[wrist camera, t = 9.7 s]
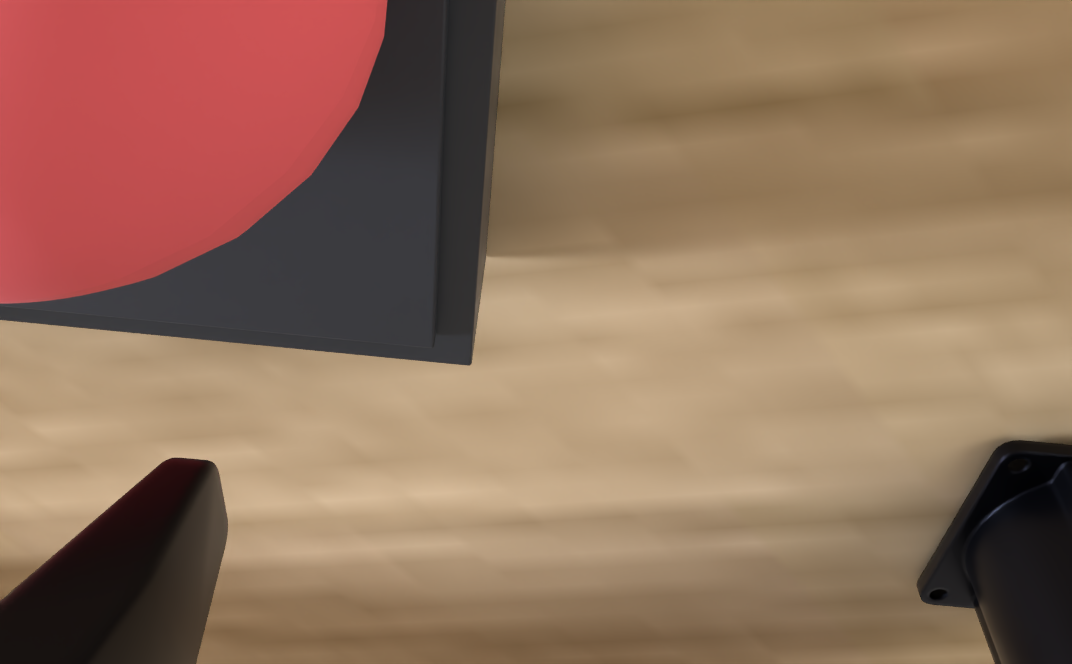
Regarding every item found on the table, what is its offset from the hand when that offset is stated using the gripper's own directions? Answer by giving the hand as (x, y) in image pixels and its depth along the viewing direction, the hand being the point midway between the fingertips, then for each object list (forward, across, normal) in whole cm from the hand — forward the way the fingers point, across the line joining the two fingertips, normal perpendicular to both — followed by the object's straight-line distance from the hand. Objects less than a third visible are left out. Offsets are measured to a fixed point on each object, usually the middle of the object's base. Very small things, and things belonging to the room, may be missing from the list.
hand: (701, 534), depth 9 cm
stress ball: (+8, +8, -1) cm, 12 cm away
